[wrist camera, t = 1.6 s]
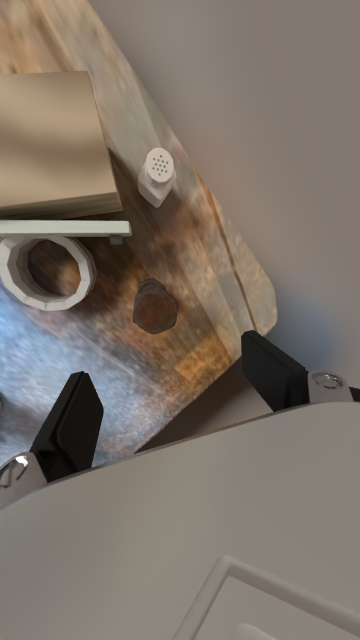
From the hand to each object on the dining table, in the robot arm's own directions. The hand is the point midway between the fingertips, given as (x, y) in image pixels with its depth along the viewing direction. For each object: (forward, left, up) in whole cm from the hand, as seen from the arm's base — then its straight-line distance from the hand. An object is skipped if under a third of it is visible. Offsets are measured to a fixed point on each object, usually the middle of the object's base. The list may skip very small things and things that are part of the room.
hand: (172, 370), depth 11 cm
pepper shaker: (+15, -4, -26) cm, 30 cm away
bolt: (0, 0, -26) cm, 26 cm away
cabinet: (+11, +11, -26) cm, 30 cm away
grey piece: (+6, +11, -23) cm, 26 cm away
